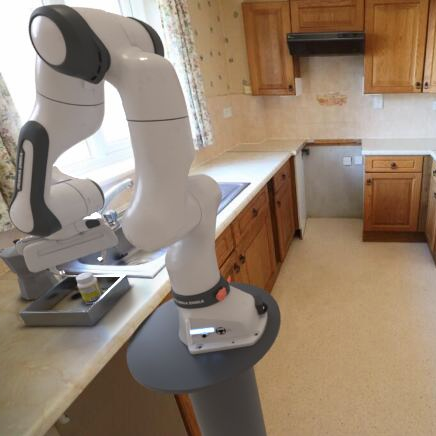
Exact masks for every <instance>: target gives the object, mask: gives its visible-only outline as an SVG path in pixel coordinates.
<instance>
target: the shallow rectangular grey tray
mask: <svg viewBox="0 0 436 436" xmlns="http://www.w3.org/2000/svg"><path fill="white" fill-rule="evenodd" d="M78 275H79V274H78ZM78 275H66V276H67V278H64V279H62V280H59V282H58V283H57V284H56V285H54V286H53V287H52V288H50V289H49V290H48V291H47V292H45V293H44V294H43V295H41V296H40V297H39V298H37V299H34V300H32V302H31V303H29V304H28V305H27V306H25V307H24V308H23V309H22V310H20V311H19V312H18V314H19V316H20V318H21V320H22V321H23V324H24V325H25V326H26V327H58V326H59V327H60V326H64V327H68V326H72V327H73V326H74V327H75V326H95V325H96V324H97V322H99V321H100V319H101V318H103V316H104V315H105V314H106V313H107V312H108V311H109V310H110V309H111V308H112V307H113V306H114V305H115V303H116V302H118V300H119V299H120V298H122V296H123V295H124V294H125V293H126V292H127V291H128V290H129V289H130V288H131V283H130V281H129V279H128V276H127V274H93V275H94V277H95V278H96V279H97V280H98V283H99V285H100V288H101V290H102V289H103V290H104V289H107V290H106V291H105V292H103V295H102V296H101V297H100V298H99V299H98V300H97V301H96V302H95V303H92V304H91V305H90V306H89V307H88V308H87V309H65V310H64V309H63V310H61V309H58V310H54V309H53V310H50V309H51V308H52V307H54V306H55V305H56V304H57V303H58V302H60V301H61V300H62V299H63V298H64V297H66V296H67V295H68V294H69V293H70V292H72V291H73V290H79V289H78V286H77V284H78V283H77V281H76V277H77V276H78ZM81 298H83V297H82V295H81V293H80V292H77V293H74V294H73V295H71V297H70V299H71V300H78V299H81Z"/></svg>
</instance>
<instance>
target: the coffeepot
mask: <svg viewBox="0 0 436 436" xmlns="http://www.w3.org/2000/svg"><path fill="white" fill-rule="evenodd" d="M20 239H21V238H18V239H14V240H12V243H13V244H14V245H12V246H8V247H4V248H1V249H0V259H1V261H2V262H4V264H5V265H6V266H7V268H8V269H9V270H10V271H11V272H12V273H13V274H15V275H16V277H17V283H18V286H19V291H20V295H21V298H23V299H25V300H27V301H35V300H36V299H37V298H39V297H40V296H41V295H43V294H44V293H45V292H47V291H48V290H49V289H50V288H52V287H53V286H54V285H56V284H57V283H58V282H60V280H59V279H58V278H57V277H56V276H55V274H54V273H52V272H50V270H49V268H48V269H45V270H42V271H39V272H36V273H34V272H31V271H29V269H28V267H27V265H26V262H25V258H24V256H23V255H20V254H19V253H18V252H17V250H16V248H15V245H16V243H17V242H18V241H20ZM20 243H22V242H20Z"/></svg>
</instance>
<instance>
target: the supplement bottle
mask: <svg viewBox="0 0 436 436" xmlns="http://www.w3.org/2000/svg"><path fill="white" fill-rule="evenodd" d="M94 275H95V274H94V273H93V271H85V272H82V273H79V274H78V276H77V275H76V276H77V277H76V281H77V283H78V284H77V286H78V289H77V290H78V291H79V293H81V295H82V297H81V298H82V299H83V302H84V303H85V304H87V305H93V304H94V303H95V302H96V301H97V300H98V299H99V298H100V297H101V296H102V295H103V294H104V292H103V290H102V289H101V288H100V285H99V283H98V280H97V279H96V278H95V277H94Z"/></svg>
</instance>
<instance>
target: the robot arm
mask: <svg viewBox="0 0 436 436" xmlns="http://www.w3.org/2000/svg"><path fill="white" fill-rule="evenodd" d="M28 20H29V21H28V36H29V40H30V43H31V45H32V48H33V49H34V51H35V60H34V61H35V64H34V82H35V86H34V87H35V102H34V106H33V109H32V111H31V114H30V116H29V118H28V120H27V121H26V122H25V123H24V124H23V126H21V128H20V130H19V134H18V138H17V147H16V159H15V172H14V185H13V193H12V196H11V198H10V201H9V205H8V217H9V220H10V222H11V223H12V225H13V226H14V227H15V228H16V229H17V230H18V231H19V232H21V233H23V234H26V235H28V236H24V237H22V238H19V239H20V241H18V242H17V243H16V245H15V244H14V246H15V248H16V250H17V252H18V253H19V254H20V255H23V256H24V258H25V262H26V265H27V267H28V269H29V271H31V272H34V273H36V272H39V271H42V270H45V269H48V268H49V270H50V272H52V274H53V275H56V276H58V278H59V281H61V280H62V279H64V278H67V276H68V275H67V274H66V272H65V269H64V270H58V269H57V267H56V266H60V265H63V264H66V263H68V262H72V261H74V260H77V259H80V258H83V257H86V256H89V255H92V254H95V253H97V252H100V257H98V258H97V261H98V263H99V265H100V266H103V265H105V264H107V260H106V257H107V253H108V249H110V248H113V247H116V246H117V245H118V244H119V238H118V237H117V235H116V233H115V231H114V230H113V229H112V227H111V226H110V225H109V223H108V222H106V221H105V218H104V216H103V215H102V214H101V213H99V211H101V210H103V209H104V206H105V202H106V198H105V194H104V191H103V189H102V187H101V186H100V185H99V183H97V182H96V181H94V180H93V179H91V178H88V177H84V176H82V177H80V176H76V175H73V174H70V173H67V172H66V171H64V170H63V169H62V168H61V167H60V166H58V165H57V164H55V163H56V162H57V160H58V159H59V158H60V157H61V156H62V155H63V154H64V153H66V152H67V151H68V150H70V149H71V148H72V147H74V146H76V145H78V144H79V143H81V142H84V141H85V140H87V139H89V138H90V137H92V136H94V135H95V134H96V133H97V132H98V131H99V130H100V129H101V127H102V125H103V122H104V118H105V113H106V112H105V110H106V106H105V103H106V100H105V99H106V97H105V82H108V84H110V85H111V86H112V87H113V88H114V90H116V92H117V94H118V97H119V99H120V102H121V103H120V104H121V107H122V112H123V117H124V120H125V123H126V128H127V131H128V132H127V133H128V135H129V140H130V144H131V145H130V146H131V148H132V149H131V150H132V153H133V159H134V178H133V187H132V193H131V196H130V201H129V203H128V205H127V207H126V209H125V211H124V212H123V214H122V215H121V219H120V222H121V223H120V225H121V230H122V233H123V235H124V237H125V238H126V240H127V241H128V242H129V243H130V244H131V245H132V246H133V247H135V248H137V249H139V250H141V251H144V252H147V253H156V252H159V251H161V250H164V249H166V248H167V251H166V252H165V256H164V265H165V268H166V272H167V275H168V278H169V282H170V285H171V286H170V291H171V295H172V298H173V300H174V303H175V304H176V305H177V308H178V314H179V338H180V340H181V341H182V342H183V343H184V344H185V345H187V346H188V349H189V352H190V353H191V354H201V353H207V352H214V351H220V350H227V349H233V348H240V347H246V346H252V345H254V344H255V343H256V342H257V341H258V340H259V339H260V338H261V336H262V334H263V333H264V330H265V328H266V324H267V319H268V314H267V309H268V306H267V304H266V303H264V302H262V296H261V295H258V296H254V298H253V296H252V295H250V294H248V293H245V292H243V291H241V290H239V289H237V288H234V287H232V286H230V285H229V283H230V282H231V280H232V278H231V275H228V277H227V279H226V278H225V277H224V275H223V274H222V273H221V272H220V268H219V264H218V258H217V252H216V229H217V228H216V227H217V216H218V211H219V208H220V205H221V202H222V200H223V193H222V189H221V186H220V185H219V183H218V182H217V181H216V180H215V179H214V178H213V177H211V176H210V175H207V174H204V173H196V174H190V169H191V166H192V164H193V162H194V159H195V155H196V150H195V144H194V143H195V142H194V138H193V132H192V126H191V122H190V116H189V111H188V106H187V102H186V97H185V94H184V91H183V88H182V85H181V82H180V78H179V77H178V74H177V71H176V68H175V67H174V65H173V64H172V62H171V61H170V60H168V59H167V58H166V57H165V46H164V43H163V40H162V38H161V36H160V35H159V33H158V32H157V30H156V29H155V28H153V27H152V26H151V25H150V24H148V23H146V22H145V21H143V20H141V19H138V18H136V17H134V16H125V15H120V14H118V13H113V12H109V11H106V10H105V9H100V8H99V9H98V8H92V7H84V6H69V5H66V4H57V3H56V4H47V5H42V6H39V7H36V8H35V9H34V10H32V11H31V14H30V16H29V19H28ZM20 242H21V243H20ZM256 335H257V336H256Z"/></svg>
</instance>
